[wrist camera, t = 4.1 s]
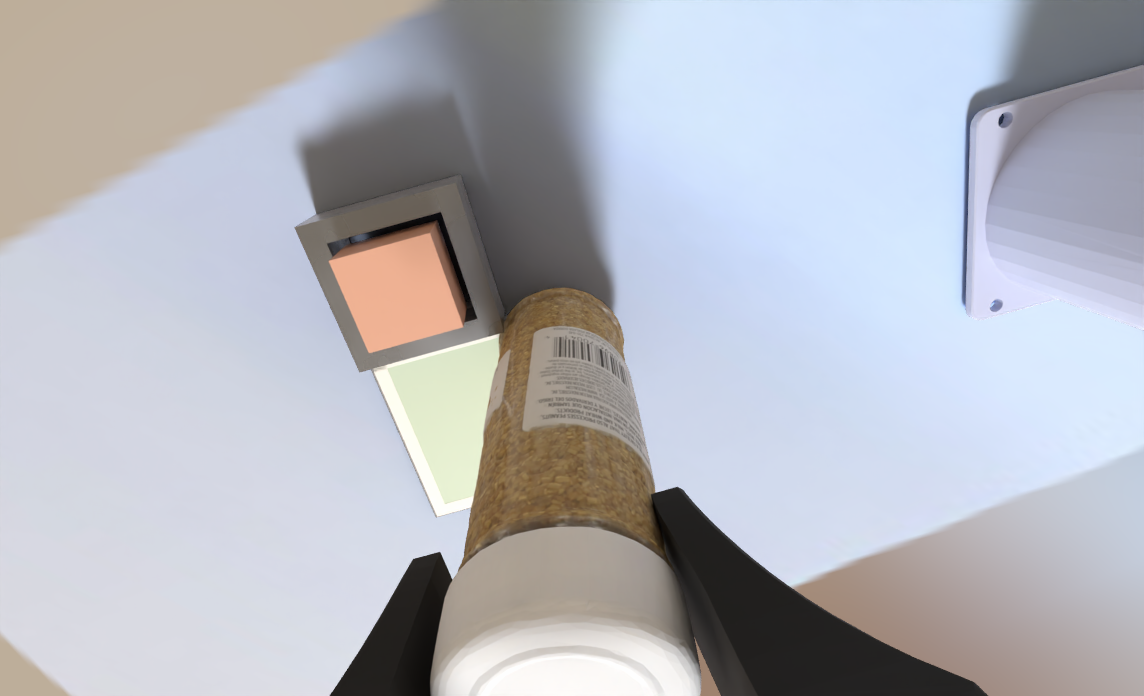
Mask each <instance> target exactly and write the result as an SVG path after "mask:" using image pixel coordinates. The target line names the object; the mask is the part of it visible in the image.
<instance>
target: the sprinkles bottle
mask: <svg viewBox="0 0 1144 696" xmlns="http://www.w3.org/2000/svg"><path fill="white" fill-rule="evenodd" d="M623 344H624V338H623V333H622V329H621V326H620V324H619V322H618V319H617V318H616V316H615V315H614V313H613V311H612V310H611V309H610V308H608V307H607V306H606V305H605V304H604V303H603V302H602V301H601V300H599V299H597V298H595V297H594V296H593V295H591V294H589V293H586V292H584V291H579V290H576V289H572V288H552V289H547V290H542V291H540V292H537V293H534V294H532V295H530V296H527V297H525V298H524V299H522V300H521V301H520V302H519V303H518V304H517V305H516V306H515V307H514V308H513V309H512V310H511V312H510V313H509V314H508V316H507V318H506V321H505V322H504V333H500V335H499V359H498V365H497V367H496V369H495V373H494V376H493V380H492V385H491V390H490V396H489V402H488V408H487V413H486V418H485V424H484V430H483V448H482V453H481V459H480V464H479V471H478V478H477V482H476V488H475V492H474V498H473V502H472V506H471V513H470V518H469V528H468V532H467V538H466V543H465V551H464V558H463V560H462V564H461V565H460V567H459V569H458V573H457V574H456V576H455V577H454V579H453V580H452V582H451V584H450V586H449V589H448V591H447V593H446V596H445V599H444V604H443V609H442V614H441V619H440V624H439V629H438V635H437V640H436V645H435V651H434V656H433V663H432V669H431V676H430V693H431V696H700V692H701V670H700V665H699V660H698V654H697V649H696V643H695V639H694V634H693V629H692V624H691V620H690V616H689V611H688V607H687V603H686V598H685V595H684V592H683V589H682V586H681V584H680V582H679V580H678V578H677V576H676V575H675V573H674V572H673V571H674V569H673V566H672V565H671V563H670V562H669V560H668V558H667V555H666V550H665V543H664V539H663V535H662V532H661V529H660V525H659V522H658V519H657V515H656V512H655V508H654V505H653V502H652V498H651V494H654V493H655V484H654V479H653V475H652V470H651V465H650V461H649V456H648V451H647V447H646V442H645V438H644V433H643V429H642V424H641V419H640V415H639V410H638V406H637V402H636V397H635V393H634V389H633V385H632V380H631V376H630V373H629V370H628V367H627V365H626V363H625V359H624V354H623Z"/></svg>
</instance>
